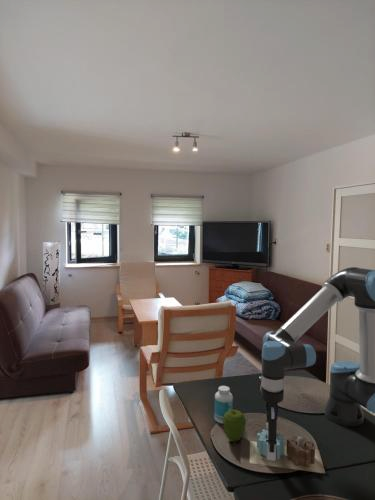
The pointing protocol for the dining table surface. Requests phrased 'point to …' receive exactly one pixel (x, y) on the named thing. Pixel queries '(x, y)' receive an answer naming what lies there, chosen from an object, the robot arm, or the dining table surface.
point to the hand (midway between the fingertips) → (270, 449)
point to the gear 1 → (263, 444)
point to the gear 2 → (300, 452)
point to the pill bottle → (222, 403)
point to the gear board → (283, 460)
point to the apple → (234, 424)
